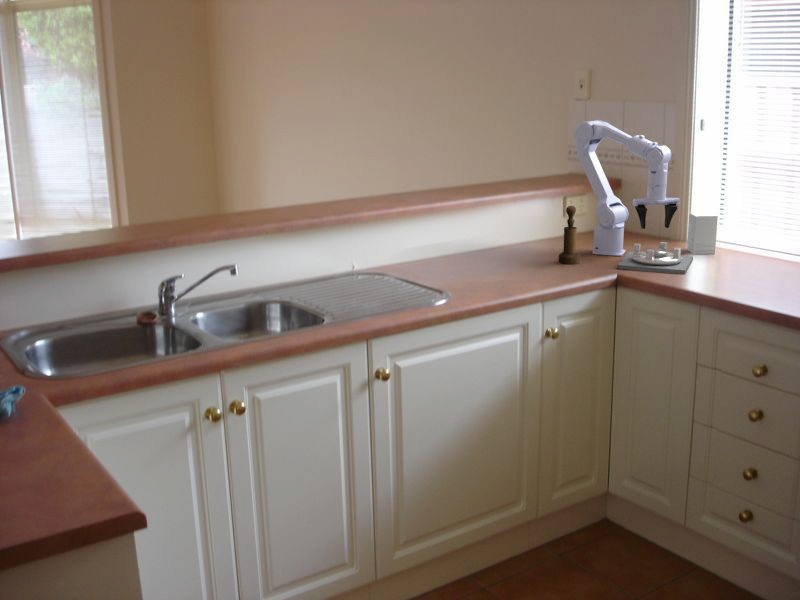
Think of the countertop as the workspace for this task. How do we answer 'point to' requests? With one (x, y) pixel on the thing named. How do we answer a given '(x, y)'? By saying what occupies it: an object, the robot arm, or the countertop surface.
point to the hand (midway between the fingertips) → (654, 227)
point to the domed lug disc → (656, 255)
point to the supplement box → (702, 233)
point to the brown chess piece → (570, 240)
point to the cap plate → (675, 268)
